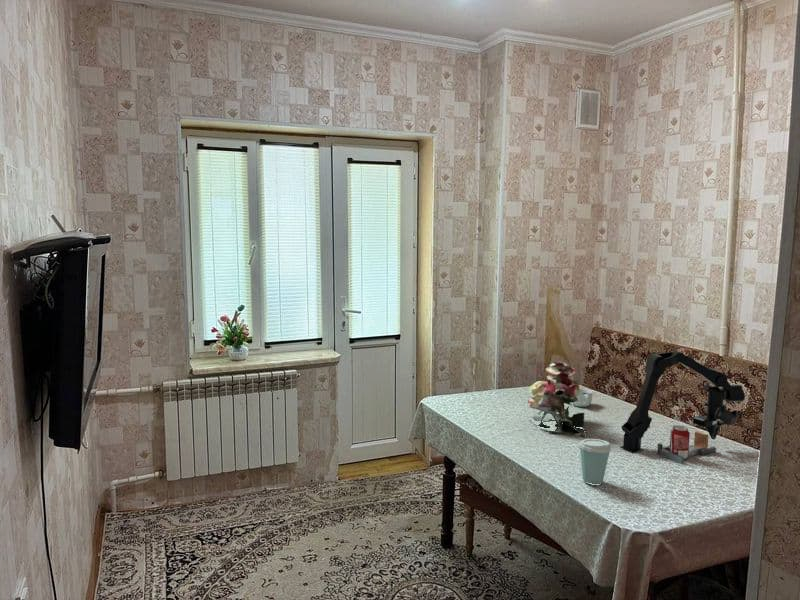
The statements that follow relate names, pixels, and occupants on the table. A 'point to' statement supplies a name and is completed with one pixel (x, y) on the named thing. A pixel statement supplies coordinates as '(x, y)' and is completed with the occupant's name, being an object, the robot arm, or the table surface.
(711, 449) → the ram guide
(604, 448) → the disposable coffee cup
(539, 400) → the rose bouquet
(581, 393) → the teacup
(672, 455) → the press fence
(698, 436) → the brown boxy piece
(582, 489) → the table surface
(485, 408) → the table surface
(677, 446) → the soda can
